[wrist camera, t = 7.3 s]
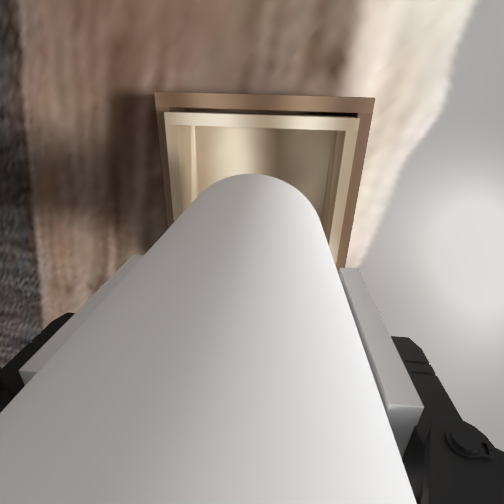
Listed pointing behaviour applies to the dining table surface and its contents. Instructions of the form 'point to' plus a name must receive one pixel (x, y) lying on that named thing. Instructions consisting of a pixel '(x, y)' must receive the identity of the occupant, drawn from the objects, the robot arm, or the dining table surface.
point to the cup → (211, 375)
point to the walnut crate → (278, 105)
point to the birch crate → (264, 157)
